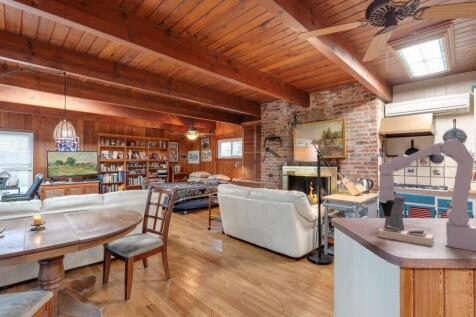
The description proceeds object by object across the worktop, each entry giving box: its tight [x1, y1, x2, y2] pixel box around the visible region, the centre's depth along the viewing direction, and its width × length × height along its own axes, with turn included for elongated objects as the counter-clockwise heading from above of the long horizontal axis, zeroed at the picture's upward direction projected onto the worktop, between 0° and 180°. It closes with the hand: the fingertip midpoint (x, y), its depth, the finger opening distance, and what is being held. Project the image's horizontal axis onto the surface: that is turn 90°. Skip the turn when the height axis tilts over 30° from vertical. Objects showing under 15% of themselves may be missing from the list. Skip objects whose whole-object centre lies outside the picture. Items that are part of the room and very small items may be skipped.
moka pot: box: [383, 190, 406, 231], centre depth 128 cm, size 10×15×20 cm, turn 12°
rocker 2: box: [408, 229, 425, 233], centre depth 106 cm, size 5×3×1 cm, turn 46°
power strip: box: [377, 227, 435, 247], centre depth 109 cm, size 20×7×3 cm, turn 46°
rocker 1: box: [386, 225, 399, 231], centre depth 112 cm, size 5×3×1 cm, turn 46°
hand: (387, 216), depth 113 cm, fingers closed
